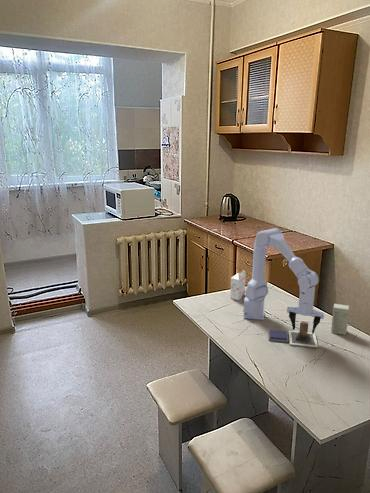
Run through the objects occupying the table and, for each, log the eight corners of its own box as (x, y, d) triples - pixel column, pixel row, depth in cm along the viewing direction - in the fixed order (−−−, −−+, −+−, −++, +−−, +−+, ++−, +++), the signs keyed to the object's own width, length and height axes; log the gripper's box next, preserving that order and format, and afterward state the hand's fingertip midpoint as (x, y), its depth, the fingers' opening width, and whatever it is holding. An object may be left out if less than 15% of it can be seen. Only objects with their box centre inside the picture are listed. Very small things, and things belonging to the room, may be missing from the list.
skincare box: (346, 330, 163) (350, 305, 160) (346, 335, 159) (349, 309, 156) (331, 327, 166) (334, 302, 162) (330, 332, 162) (333, 307, 158)
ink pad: (268, 340, 156) (268, 337, 155) (268, 332, 163) (268, 328, 162) (288, 342, 154) (288, 339, 154) (287, 334, 161) (287, 330, 160)
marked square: (289, 345, 152) (289, 343, 152) (288, 331, 163) (288, 330, 163) (317, 348, 150) (318, 346, 150) (314, 334, 161) (314, 333, 160)
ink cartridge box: (236, 292, 203) (237, 267, 198) (245, 294, 200) (246, 269, 196) (229, 298, 196) (230, 272, 191) (238, 300, 193) (239, 274, 189)
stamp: (295, 340, 155) (297, 325, 153) (297, 334, 160) (299, 319, 158) (308, 342, 153) (309, 327, 151) (309, 337, 158) (311, 322, 155)
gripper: (325, 300, 152) (322, 329, 156) (289, 294, 158) (287, 322, 162) (324, 307, 146) (321, 337, 150) (286, 300, 151) (284, 330, 155)
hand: (303, 330), depth 155 cm, fingers open, 7 cm apart
